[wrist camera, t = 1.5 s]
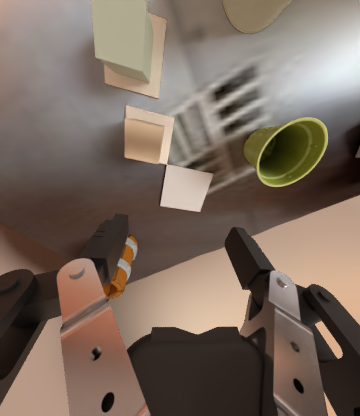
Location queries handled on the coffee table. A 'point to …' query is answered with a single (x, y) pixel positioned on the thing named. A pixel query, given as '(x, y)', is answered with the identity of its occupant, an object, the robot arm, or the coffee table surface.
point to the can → (253, 13)
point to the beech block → (143, 140)
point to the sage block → (123, 36)
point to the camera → (358, 153)
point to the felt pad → (185, 188)
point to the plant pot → (286, 150)
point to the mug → (122, 269)
